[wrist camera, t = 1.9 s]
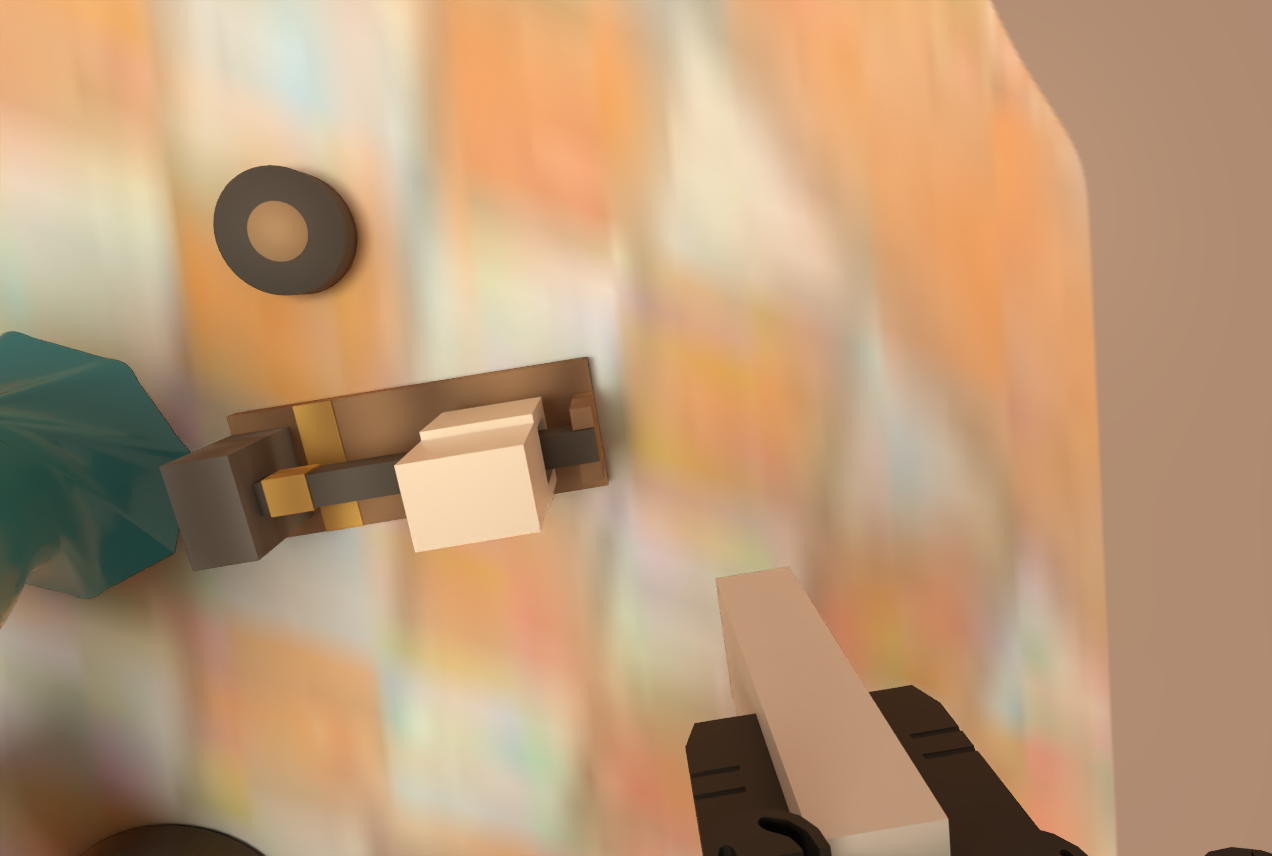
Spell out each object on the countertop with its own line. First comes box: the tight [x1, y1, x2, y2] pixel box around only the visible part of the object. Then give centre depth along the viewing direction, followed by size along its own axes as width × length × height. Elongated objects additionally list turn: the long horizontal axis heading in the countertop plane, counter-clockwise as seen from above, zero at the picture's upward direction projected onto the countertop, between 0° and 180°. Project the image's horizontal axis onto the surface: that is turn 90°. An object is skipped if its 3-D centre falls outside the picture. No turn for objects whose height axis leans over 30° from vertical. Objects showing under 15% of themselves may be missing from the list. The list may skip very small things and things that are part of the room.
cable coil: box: [214, 165, 357, 295], centre depth 34 cm, size 6×6×2 cm
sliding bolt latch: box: [159, 357, 608, 571], centre depth 34 cm, size 19×7×7 cm, turn 99°
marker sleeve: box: [394, 397, 557, 552], centre depth 31 cm, size 5×4×8 cm
